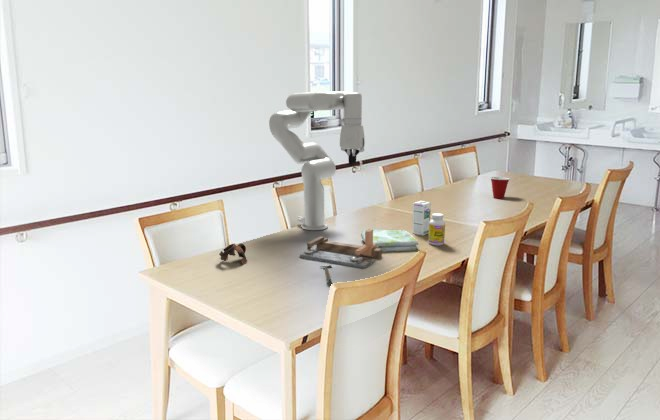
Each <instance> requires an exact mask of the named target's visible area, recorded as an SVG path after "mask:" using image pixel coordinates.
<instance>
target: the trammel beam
mask: <svg viewBox="0 0 660 420" xmlns="http://www.w3.org/2000/svg"><path fill="white" fill-rule="evenodd" d="M315 246H316V249H317V250H322V251H323V250H324V251H328V252H330V251H331V252H335V253H341V254H342V253H344V254H347V255H348V254H351V255H355V250H357V249H358V248H360V247H362V245H359V244H351V243H346V242H345V243H344V242H339V241H338V242H336V241H332V240H329V238H328V237H325V236H318V237H317V238H314V239H312V240H311V241H309V242H307V243H306V249H307V250H311V249H312V247H315ZM359 256H360V257H361V256H362V257H368V258H372V259H373V258H374V259H380V258H381V257H382V256H383V255H382V249H379V248H373V249H372V255H371V256H368V255H362V254H360V255H359Z"/></svg>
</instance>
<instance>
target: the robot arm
mask: <svg viewBox="0 0 660 420" xmlns="http://www.w3.org/2000/svg"><path fill="white" fill-rule="evenodd" d="M362 98H363V97H362V94H361V92H349V91H326V92H317V91H310V92H309V91H307V92H295V93H292V94H290V95H288V96H287V98H286V100H285V102H286V103H285V106H286V107H287V109H288V110H281V111H276V112H274V113H272V114H271V116H270V117H269V120H268V125H269V130H270V133H271V135H272V136H273V138H274V139H275V140H276V141H277V142H278V143H279V144H280V145H281V146H282V148H284V150H285V152H286V153H287V154H288V155H289V157H290V158H291V159H292V160H293V162H295V163H296V164H297V165H302V167H301V178H302V182H303V211H304V213H303V216H300V215H299V216H298V217H297V222H301V224H300V227H302V228H301V229H302V230H303V229H304V230H307V231H322V230H325V229H328V227H329V224H328V223H327V222H325V219H326V218H325V217H326V215H325V188H324V184H323V183H322V180H327V179H330V178H332V177H333V176H334V175H335V174H336V173H337V172H336V171H337V169H336V168H337V167H336V164H335V162H334V161H333V159H332V158H331V156H330V155H329V154H328V153H327V152H326V150H325V149H324V148H323V146H321V145H320V144H319V143H317V142H304V141H302V140H301V139H300V137H299V136H298V135H297V134H296V133H294V132H293V131H291V130H290V129H297V128H300V127H301V126H303V124H304V123H305V122H306V120H307V119H308V118H309V116H310V115H311V113H313V112H318V111H335V110H343V118H341V120H340V121H341V123H343V125H341V130H340V133H339V135H340V136H339V147H340V151H342V152H345V153H346V154H347V157H348V166H355V165H356V164H357V155H358V154H359V153H363V152H365V143H366V141H365V139H366V138H365V129H364V125H362V124H363V123H362V118H363V117H362V115H363V114H362V112H363V111H362V108H363V106H362V104H363V103H362V101H363V99H362Z"/></svg>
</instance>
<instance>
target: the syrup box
mask: <svg viewBox="0 0 660 420" xmlns="http://www.w3.org/2000/svg"><path fill="white" fill-rule="evenodd" d="M431 204H432V203H431V202H430V201H426V200H419V201H416V202H413V203H412V234H414V235H417V236H425V235H429V222H430V220H431Z"/></svg>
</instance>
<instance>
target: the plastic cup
mask: <svg viewBox="0 0 660 420" xmlns="http://www.w3.org/2000/svg"><path fill="white" fill-rule="evenodd" d="M510 179H511V178H510V177H509V178H508V177H503V176H490V181H491V188H492V196H493V197H492V198H493V199H495V198H496V200H503V199H505V195H506V191H507V189H508V188H507V187H508V184H509V181H510Z"/></svg>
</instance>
